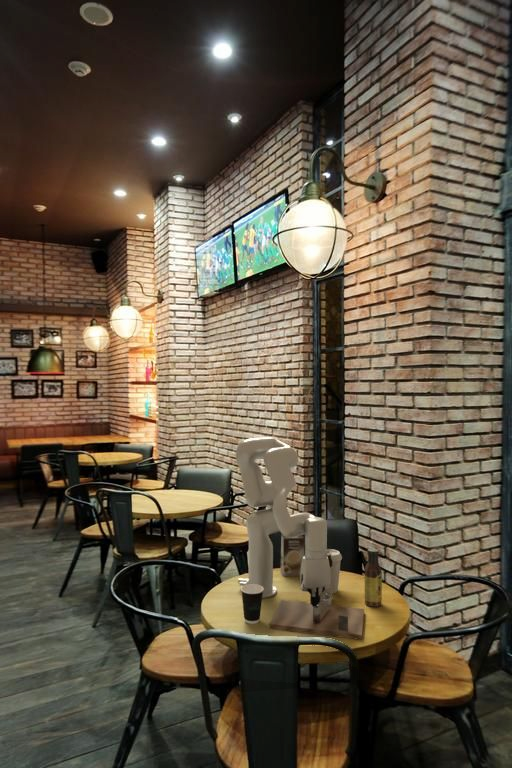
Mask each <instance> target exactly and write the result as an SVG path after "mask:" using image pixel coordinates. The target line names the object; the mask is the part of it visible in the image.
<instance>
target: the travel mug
mask: <svg viewBox="0 0 512 768" xmlns="http://www.w3.org/2000/svg"><path fill="white" fill-rule="evenodd" d="M331 554H332V552H331V551H330V553H328V554H327V557H328V560H329V565H330V588H328V589H325V590H324V591H323V592H322V595H321V596H320V601H321V600H322V599H323V598H324V597H325V593H330V596H331V602H332V601H333V593H332V559H331ZM315 590H316V588H315Z"/></svg>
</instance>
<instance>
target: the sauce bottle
mask: <svg viewBox="0 0 512 768" xmlns="http://www.w3.org/2000/svg"><path fill="white" fill-rule="evenodd" d="M379 554H380V553H379V550H378V549H376V548H368V549H367V563H366V565H365V568H364V603H365V605H366V606H368V607H374V608H375V607H376V608H377V607H380V606H381V605H382V600H383V591H382V590H383V588H382V587H383V584H382V583H383V579H382V578H383V576H382V573H383V572H382V569H381V566H380V563H379Z"/></svg>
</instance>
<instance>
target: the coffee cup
mask: <svg viewBox="0 0 512 768" xmlns="http://www.w3.org/2000/svg"><path fill="white" fill-rule="evenodd" d="M328 549H329V550H330V551H331V552H332V554H331V559H332V594H335V593H338V591H339V585H340V584H339V583H340V571H341V560H342V559H343V556H342V554H341V553H340V551H339V550H338V549H337V550H336V549H332V548H331V549H330V548H328Z"/></svg>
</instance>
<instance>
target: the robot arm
mask: <svg viewBox="0 0 512 768" xmlns="http://www.w3.org/2000/svg"><path fill="white" fill-rule="evenodd" d="M256 460H263V462H264V463H263V464H264V466H265V468H266V471H267V473H268V477H269V479H270V480H267V481H266V480H265V479H264V476H263V471H262V469H261V466H259V464H258V463H257V462H256ZM235 461H236V463H237V464H236V465H238V466H237V467H238V469H239V472H240V476H241V481H242V486H243V492H244V496H245V497H244V498H245V501H246V504H247V506H249V507H250V508H260V507H267V509H259V510H257V511H253V512H251V513H250V514H249V515H248V516H247V519H246V522H245V523H246V524H245V525H246V531H247V536H248V538H247V539H248V578H240V577H239V578H238V580H237V581H238V582H237V583H238V584H239V586H241V587H242V586H244V585H248V584H256V585H260V586H262V587H263V588H264V590H263V595H262V599H265V598H266V599H267V598H271V597H273V596H275V595H276V594H277V587H276V586H275V585H273V584H274V546H273V542H272V540H271V539H270V536H269V535H271V534H275V533H279V532H280V533H281V535H284V536H285V537H288V538H290V537H295V536H299V535H302V536H303V535H304V557H303V558H302V563H301V570H300V576H299V583H300V584H301V585H300V586H301V587H300V590H301V591H302V592H306V593H309V594H310V602H309V603H311V605H312V606H313V607H314V606H316V605H317V604H318V603H319V602H320V596H321V595H322V592H323V591H324V590H325V589H328V588H330V565H329V560H328V557H327V554H328V553H330V550H329V549H330V548H328V547H327V545H328V544H327V543H328V542H327V541H328V537H327V535H328V521H327V520H326V518H323V517H319V516H315V515H313V514H311V513H310V512H306V511H305V512H299V513H294V514H290V512H289V510H288V506H287V497H288V496H289V493H290V492H292V491H293V490H294V489H295V488H296V487H297V482H296V479H295V476H294V474H293V471H292V470H291V469H293V468H295V467H296V466H297V465H298V463H299V456H298V453H297V451H296V450H295V449H294V448H293V447H292V446H291V445H288V444H286V442H285V443H284V442H283V441H281V440H279V439H277V438H275V437H270V436H269V437H267V436H266V437H253V438H247V439H244V440H241V442H240V443H238V445H237V447H236V449H235ZM315 588H316V590H315Z"/></svg>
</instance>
